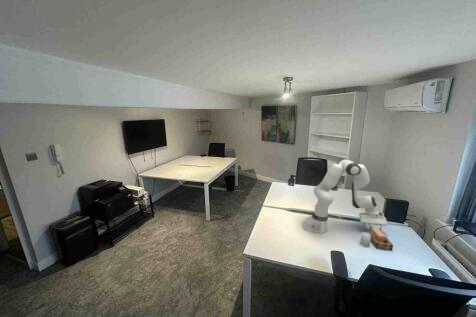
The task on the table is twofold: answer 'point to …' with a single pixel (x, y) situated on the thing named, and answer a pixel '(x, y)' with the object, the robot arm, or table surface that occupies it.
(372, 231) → the block
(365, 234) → the white rounded piece
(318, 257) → the table surface
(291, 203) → the table surface
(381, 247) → the lane
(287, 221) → the table surface
